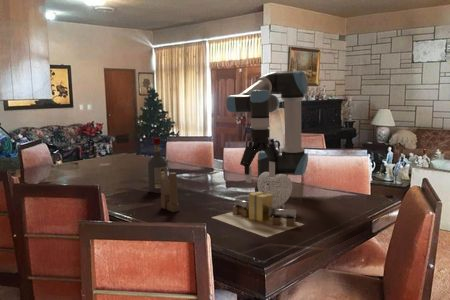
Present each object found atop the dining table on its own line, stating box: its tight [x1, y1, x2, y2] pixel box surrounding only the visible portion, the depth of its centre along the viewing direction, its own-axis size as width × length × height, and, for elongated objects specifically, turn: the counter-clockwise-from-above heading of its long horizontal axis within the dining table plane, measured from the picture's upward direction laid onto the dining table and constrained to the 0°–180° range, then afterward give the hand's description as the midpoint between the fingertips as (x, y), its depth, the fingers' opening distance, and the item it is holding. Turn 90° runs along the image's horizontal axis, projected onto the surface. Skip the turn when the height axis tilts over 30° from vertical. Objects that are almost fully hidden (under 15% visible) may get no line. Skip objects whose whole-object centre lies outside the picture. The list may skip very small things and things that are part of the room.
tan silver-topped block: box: [232, 198, 249, 218], centre depth 174 cm, size 9×5×7 cm, turn 40°
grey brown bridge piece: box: [269, 207, 297, 227], centre depth 160 cm, size 10×5×7 cm, turn 75°
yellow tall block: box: [248, 191, 273, 224], centre depth 166 cm, size 8×6×11 cm
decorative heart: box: [256, 172, 293, 209], centre depth 184 cm, size 18×11×17 cm, turn 48°
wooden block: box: [160, 172, 180, 213], centre depth 186 cm, size 4×11×18 cm, turn 39°
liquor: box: [147, 137, 169, 194], centre depth 222 cm, size 9×9×30 cm
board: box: [210, 211, 305, 238], centre depth 166 cm, size 22×33×1 cm, turn 40°
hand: (260, 179), depth 165 cm, fingers open, 13 cm apart
